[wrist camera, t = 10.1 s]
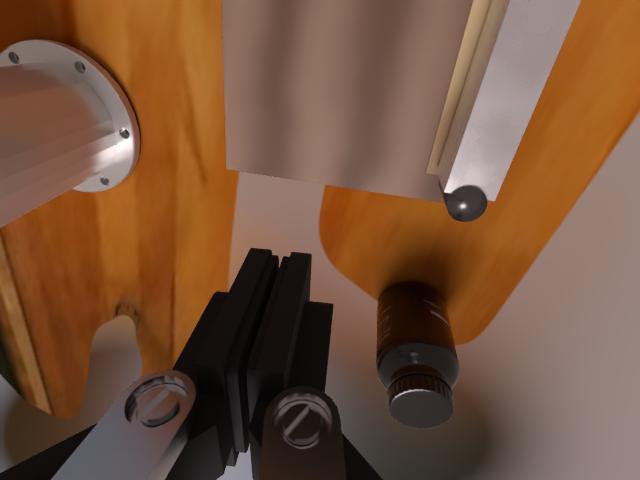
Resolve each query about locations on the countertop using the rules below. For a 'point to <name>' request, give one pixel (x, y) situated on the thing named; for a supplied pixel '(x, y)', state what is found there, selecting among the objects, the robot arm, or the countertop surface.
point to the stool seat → (346, 89)
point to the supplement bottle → (416, 355)
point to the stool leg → (499, 99)
